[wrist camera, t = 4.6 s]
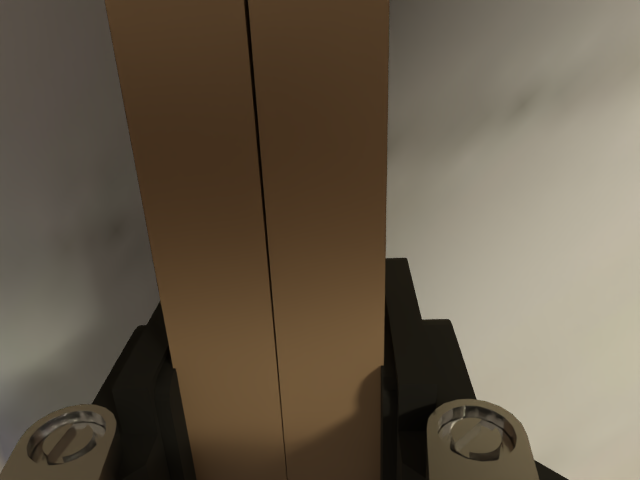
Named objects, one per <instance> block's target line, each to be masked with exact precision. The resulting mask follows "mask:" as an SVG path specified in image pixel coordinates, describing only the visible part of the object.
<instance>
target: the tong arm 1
mask: <svg viewBox="0 0 640 480" xmlns="http://www.w3.org/2000/svg"><path fill="white" fill-rule="evenodd" d="M105 5H106V11H107V16H108V21H109V27H110V32H111V37H112V43H113V48H114V54H115V59H116V64H117V70H118V75H119V80H120V86H121V91H122V96H123V102H124V107H125V113H126V118H127V123H128V129H129V134H130V139H131V145H132V150H133V155H134V161H135V166H136V172H137V177H138V182H139V188H140V193H141V198H142V204H143V209H144V214H145V220H146V225H147V231H148V236H149V241H150V247H151V252H152V257H153V263H154V268H155V273H156V279H157V284H158V290H159V295H160V300H161V306H162V311H163V316H164V322H165V327H166V332H167V338H168V343H169V349H170V354H171V359H172V365H173V368H176V372H177V378H178V383H179V388H180V394H181V399H182V404H183V410H184V415H185V420H186V426H187V431H188V436H189V442H190V447H191V452H192V458H193V463H194V468H195V474H196V479H197V480H288V478H287V466H286V454H285V442H284V430H283V418H282V405H281V393H280V381H279V369H278V357H277V345H276V333H275V321H274V308H273V296H272V284H271V272H270V260H269V248H268V236H267V224H266V211H265V199H264V187H263V175H262V163H261V151H260V139H259V127H258V115H257V102H256V90H255V78H254V66H253V54H252V42H251V30H250V18H249V5H248V0H105Z"/></svg>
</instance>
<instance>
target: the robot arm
mask: <svg viewBox="0 0 640 480" xmlns="http://www.w3.org/2000/svg"><path fill="white" fill-rule="evenodd" d="M0 480H197V479H196V474H195V468H194V463H193V458H192V452H191V447H190V442H189V436H188V431H187V426H186V420H185V415H184V410H183V404H182V399H181V394H180V388H179V383H178V378H177V372H176V368H173V365H172V359H171V354H170V349H169V343H168V338H167V332H166V327H165V322H164V316H163V311H162V306H161V300H160V302H159V304H158V306H157V308H156V309H155V311H154V313H153V315H152V317H151V318H150V320H149V322H148V324H147V325H141V326H138V327H137V328H136V329H135V330H134V332H133V334H132V336H131V337H130V339H129V341H128V342H127V344H126V346H125V348H124V349H123V351H122V353H121V355H120V356H119V358H118V360H117V361H116V363H115V365H114V367H113V368H112V370H111V372H110V374H109V375H108V377H107V379H106V380H105V382H104V384H103V386H102V387H101V389H100V391H99V392H98V394H97V396H96V398H95V399H94V401H93V403H92V404H80V405H75V406H69V407H66V408H63V409H60V410H57V411H54V412H52V413H50V414H48V415H47V416H45V417H43V418H41V419H40V420H38V421H37V422H36V423H34V424H33V425H32V426H31V427H30V428H28V429H27V430H26V432H25V433H24V434H23V436H22V437H21V438H20V440H19V441H18V443H17V445H16V446H15V448H14V450H13V452H12V454H11V455H10V457H9V459H8V461H7V463H6V464H5V466H4V468H3V470H2V471H1V473H0ZM380 480H568V479H566V478H565V477H563V476H561V475H560V474H558V473H556V472H554V471H553V470H551V469H549V468H547V467H546V466H544V465H542V464H540V463H539V462H537V461H535V460H534V458H533V454H532V451H531V447H530V443H529V439H528V436H527V433H526V431H525V429H524V427H523V425H522V424H521V422H520V421H519V420H518V419H517V418H516V417H515V416H514V415H513V414H511V413H510V412H508V411H507V410H505V409H503V408H502V407H500V406H498V405H495V404H492V403H489V402H487V401H481V400H477V399H476V396H475V393H474V390H473V387H472V384H471V381H470V378H469V375H468V372H467V369H466V366H465V363H464V360H463V357H462V354H461V350H460V347H459V344H458V341H457V338H456V335H455V332H454V329H453V326H452V323H451V321H450V320H449V319H429V320H422V318H421V314H420V310H419V306H418V302H417V298H416V294H415V290H414V285H413V281H412V277H411V273H410V269H409V265H408V261H407V258H385V318H384V365H381V443H380Z"/></svg>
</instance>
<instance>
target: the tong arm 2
mask: <svg viewBox="0 0 640 480" xmlns="http://www.w3.org/2000/svg"><path fill="white" fill-rule="evenodd" d="M248 5H249V18H250V30H251V42H252V54H253V66H254V78H255V90H256V102H257V115H258V127H259V139H260V151H261V163H262V175H263V187H264V199H265V211H266V224H267V236H268V248H269V260H270V272H271V284H272V296H273V308H274V321H275V333H276V345H277V357H278V369H279V381H280V393H281V405H282V418H283V430H284V442H285V454H286V466H287V478H288V480H380V443H381V365H384V318H385V254H386V189H387V125H388V60H389V0H248Z"/></svg>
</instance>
